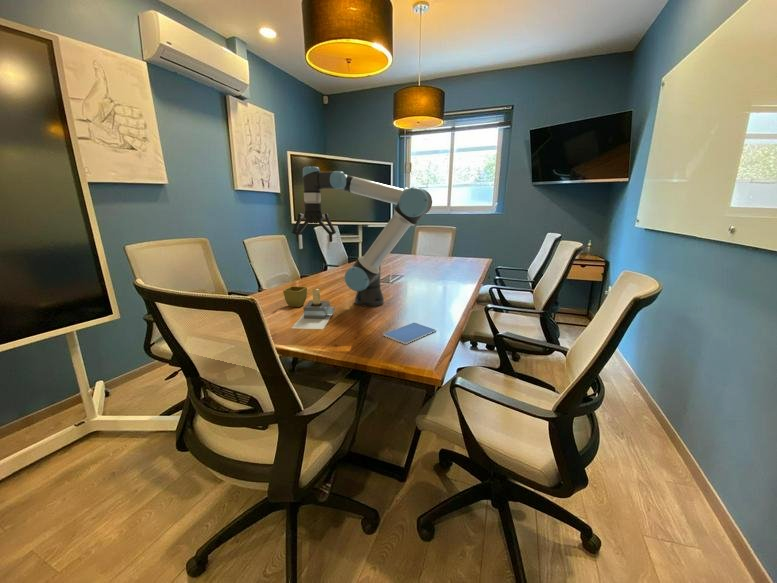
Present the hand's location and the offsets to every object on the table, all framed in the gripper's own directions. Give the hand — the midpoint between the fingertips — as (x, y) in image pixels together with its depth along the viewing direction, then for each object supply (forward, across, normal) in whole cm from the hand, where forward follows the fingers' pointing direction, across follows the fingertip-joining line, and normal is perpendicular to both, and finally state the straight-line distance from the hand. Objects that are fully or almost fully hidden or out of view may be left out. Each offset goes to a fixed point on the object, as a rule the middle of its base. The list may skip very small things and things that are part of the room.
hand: (315, 248), depth 154 cm
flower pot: (+29, +11, 0) cm, 31 cm away
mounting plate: (+29, -4, +23) cm, 37 cm away
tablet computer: (+29, -45, +33) cm, 63 cm away
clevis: (+27, -6, +17) cm, 33 cm away
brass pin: (+27, -4, +18) cm, 33 cm away
